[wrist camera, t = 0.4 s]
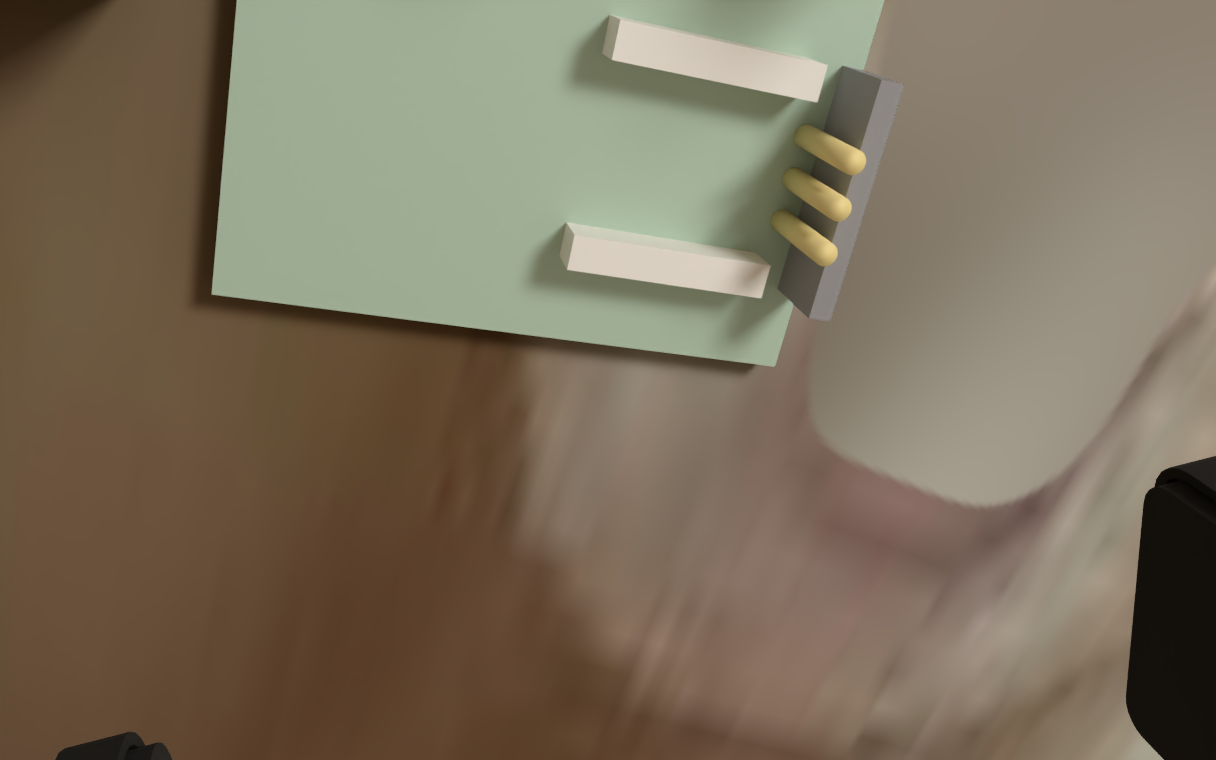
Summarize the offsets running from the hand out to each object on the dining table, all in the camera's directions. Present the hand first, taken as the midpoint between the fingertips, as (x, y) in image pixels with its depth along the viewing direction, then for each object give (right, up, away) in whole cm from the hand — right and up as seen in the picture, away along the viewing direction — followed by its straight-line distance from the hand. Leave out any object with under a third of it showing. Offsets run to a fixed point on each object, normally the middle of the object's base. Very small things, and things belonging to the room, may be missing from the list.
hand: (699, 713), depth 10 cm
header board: (-3, +12, +26) cm, 28 cm away
